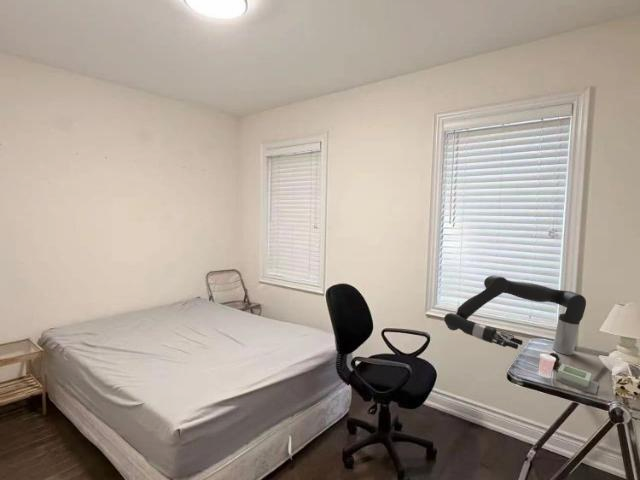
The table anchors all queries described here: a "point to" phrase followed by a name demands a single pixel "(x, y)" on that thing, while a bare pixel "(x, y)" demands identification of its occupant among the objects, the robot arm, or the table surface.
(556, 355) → the bolt
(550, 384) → the table surface
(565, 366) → the pale green square tray
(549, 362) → the beverage cup
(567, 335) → the robot arm
